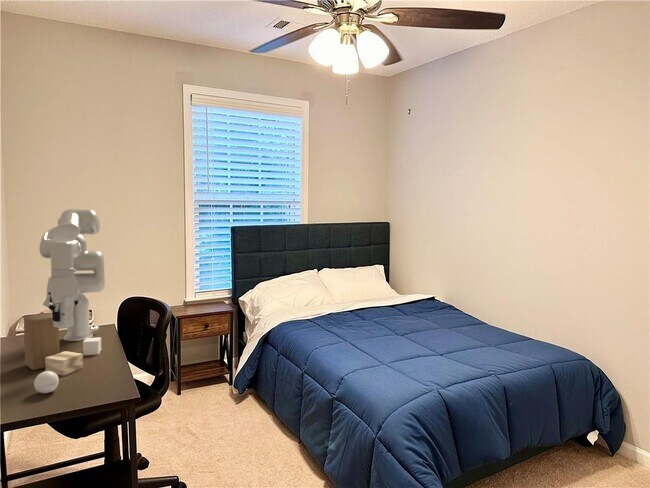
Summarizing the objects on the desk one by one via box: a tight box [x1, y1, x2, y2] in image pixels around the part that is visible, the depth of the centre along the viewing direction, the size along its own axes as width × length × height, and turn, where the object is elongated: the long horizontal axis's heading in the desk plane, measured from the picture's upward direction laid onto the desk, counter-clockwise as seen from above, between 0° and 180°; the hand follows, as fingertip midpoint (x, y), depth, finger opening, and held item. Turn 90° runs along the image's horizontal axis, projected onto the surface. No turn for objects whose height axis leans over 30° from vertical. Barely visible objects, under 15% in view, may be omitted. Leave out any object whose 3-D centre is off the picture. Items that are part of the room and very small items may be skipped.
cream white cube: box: [82, 336, 102, 356], centre depth 200 cm, size 6×6×6 cm
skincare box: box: [53, 296, 74, 329], centre depth 177 cm, size 6×4×12 cm
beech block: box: [45, 350, 84, 377], centre depth 178 cm, size 9×9×6 cm
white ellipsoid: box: [33, 370, 67, 394], centre depth 157 cm, size 10×7×7 cm
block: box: [23, 312, 60, 371], centre depth 183 cm, size 10×10×20 cm
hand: (63, 319), depth 177 cm, fingers closed on skincare box, 4 cm apart
